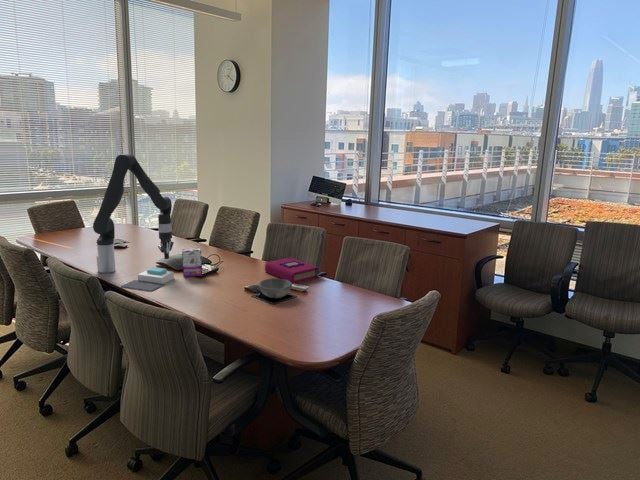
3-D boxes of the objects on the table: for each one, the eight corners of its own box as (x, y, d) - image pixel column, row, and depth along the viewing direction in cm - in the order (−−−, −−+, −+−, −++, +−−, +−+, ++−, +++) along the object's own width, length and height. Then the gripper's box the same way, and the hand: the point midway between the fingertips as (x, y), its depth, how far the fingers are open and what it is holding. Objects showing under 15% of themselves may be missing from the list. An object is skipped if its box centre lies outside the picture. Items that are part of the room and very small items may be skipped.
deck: (138, 281, 276) (137, 274, 275) (150, 275, 287) (150, 268, 286) (161, 284, 272) (161, 277, 271) (174, 278, 283) (173, 271, 282)
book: (292, 284, 280) (292, 272, 278) (264, 273, 300) (264, 261, 298) (319, 278, 294) (319, 266, 292) (291, 267, 314) (291, 256, 312)
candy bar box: (202, 273, 293) (201, 248, 289) (202, 276, 289) (201, 250, 285) (183, 274, 290) (182, 248, 286) (183, 277, 286) (182, 250, 282)
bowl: (255, 292, 264) (255, 278, 262) (286, 289, 270) (286, 276, 268) (263, 303, 248) (263, 289, 246) (295, 300, 254) (295, 286, 252)
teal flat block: (147, 273, 278) (147, 269, 278) (153, 270, 284) (153, 267, 283) (160, 275, 276) (160, 271, 275) (166, 272, 281) (166, 268, 281)
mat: (120, 287, 265) (120, 286, 265) (134, 280, 276) (134, 279, 276) (151, 291, 260) (151, 290, 260) (164, 285, 271) (164, 284, 271)
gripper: (166, 228, 291) (167, 255, 295) (152, 232, 278) (154, 261, 282) (177, 229, 289) (178, 256, 293) (164, 233, 276) (165, 262, 280)
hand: (166, 258), depth 287 cm, fingers closed
